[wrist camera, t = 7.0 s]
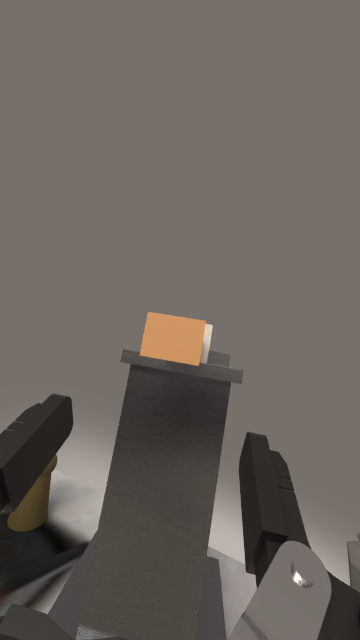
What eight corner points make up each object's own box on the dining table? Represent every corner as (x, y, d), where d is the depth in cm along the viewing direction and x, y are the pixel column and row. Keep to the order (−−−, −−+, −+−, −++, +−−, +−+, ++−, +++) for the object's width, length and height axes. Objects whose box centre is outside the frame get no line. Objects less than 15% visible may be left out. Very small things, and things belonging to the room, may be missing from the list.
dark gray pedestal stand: (29, 659, 24) (102, 328, 29) (95, 541, 40) (136, 338, 45) (228, 724, 22) (272, 357, 27) (216, 573, 38) (245, 357, 43)
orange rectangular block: (125, 352, 16) (139, 281, 17) (169, 355, 41) (174, 326, 41) (214, 368, 16) (225, 294, 16) (204, 362, 40) (209, 332, 41)
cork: (36, 503, 47) (50, 443, 48) (53, 519, 43) (68, 454, 45) (0, 517, 42) (17, 450, 43) (17, 537, 38) (35, 463, 40)
